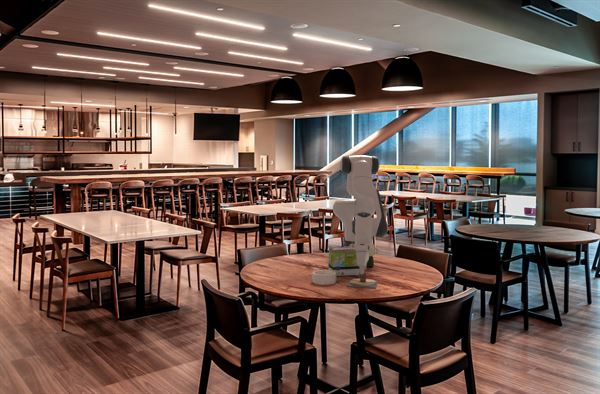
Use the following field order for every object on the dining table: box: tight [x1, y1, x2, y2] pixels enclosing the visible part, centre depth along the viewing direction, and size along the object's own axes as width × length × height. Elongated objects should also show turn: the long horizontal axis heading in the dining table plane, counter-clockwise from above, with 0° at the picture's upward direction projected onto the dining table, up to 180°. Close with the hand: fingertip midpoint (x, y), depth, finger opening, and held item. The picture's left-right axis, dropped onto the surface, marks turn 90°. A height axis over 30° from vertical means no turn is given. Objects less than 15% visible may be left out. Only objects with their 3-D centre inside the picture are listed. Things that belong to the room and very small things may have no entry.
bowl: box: [311, 269, 337, 286], centre depth 264 cm, size 12×12×5 cm
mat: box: [346, 278, 379, 289], centre depth 259 cm, size 14×14×1 cm
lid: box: [349, 272, 377, 286], centre depth 259 cm, size 13×13×5 cm
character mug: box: [366, 243, 379, 267], centre depth 301 cm, size 11×7×13 cm, turn 79°
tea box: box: [327, 246, 360, 277], centre depth 281 cm, size 15×10×15 cm
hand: (363, 272), depth 258 cm, fingers open, 8 cm apart
